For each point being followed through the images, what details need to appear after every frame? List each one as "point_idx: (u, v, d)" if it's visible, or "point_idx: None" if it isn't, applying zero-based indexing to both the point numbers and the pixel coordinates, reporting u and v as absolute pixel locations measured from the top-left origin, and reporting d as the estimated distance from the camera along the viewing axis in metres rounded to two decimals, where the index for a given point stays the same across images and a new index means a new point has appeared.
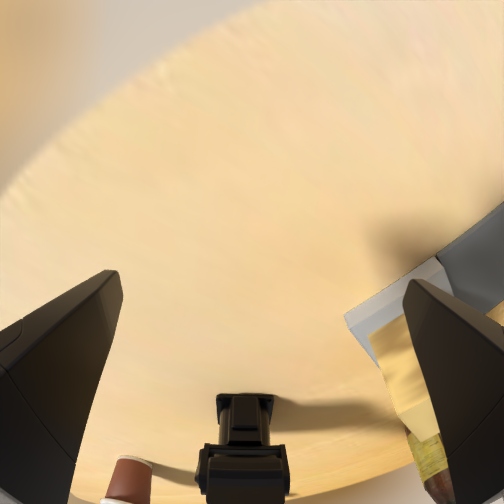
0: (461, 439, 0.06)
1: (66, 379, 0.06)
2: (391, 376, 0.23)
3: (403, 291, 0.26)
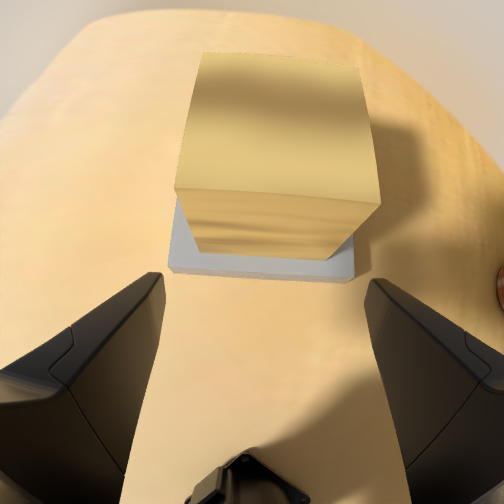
0: (419, 451, 0.06)
1: (120, 389, 0.06)
2: None
3: None
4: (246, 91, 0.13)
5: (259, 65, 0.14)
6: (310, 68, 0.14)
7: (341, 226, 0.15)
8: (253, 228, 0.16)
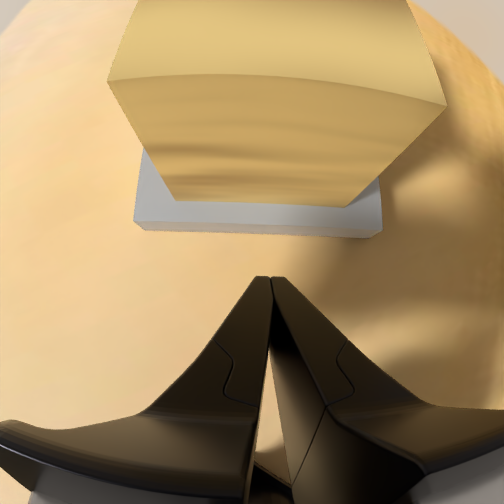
0: (296, 470, 0.06)
1: None
2: None
3: None
4: None
5: None
6: None
7: (378, 149, 0.09)
8: (244, 153, 0.10)
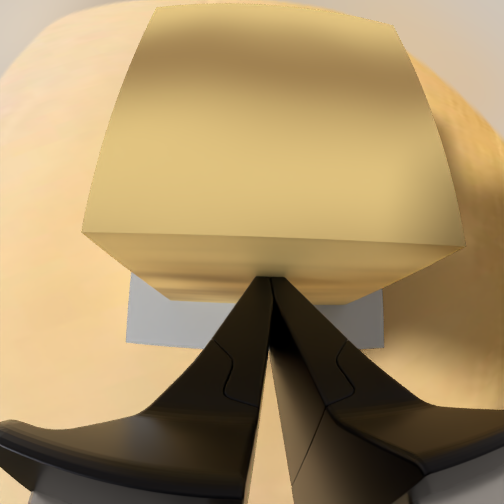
0: (296, 469, 0.06)
1: None
2: None
3: None
4: (220, 51, 0.07)
5: (243, 16, 0.08)
6: (323, 20, 0.08)
7: (385, 275, 0.09)
8: (241, 280, 0.10)
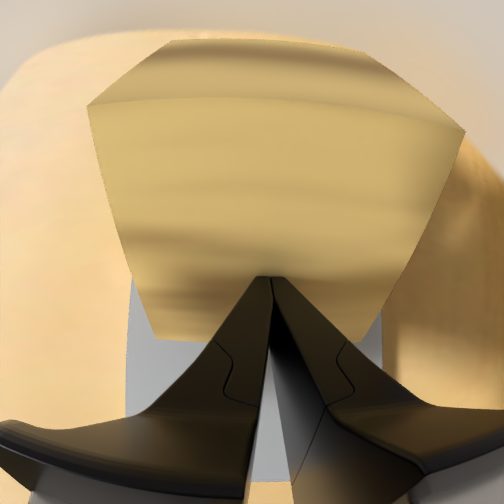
0: (296, 470, 0.06)
1: None
2: None
3: (128, 355, 0.14)
4: (224, 50, 0.09)
5: (241, 42, 0.10)
6: (306, 45, 0.11)
7: (401, 224, 0.08)
8: (240, 247, 0.08)
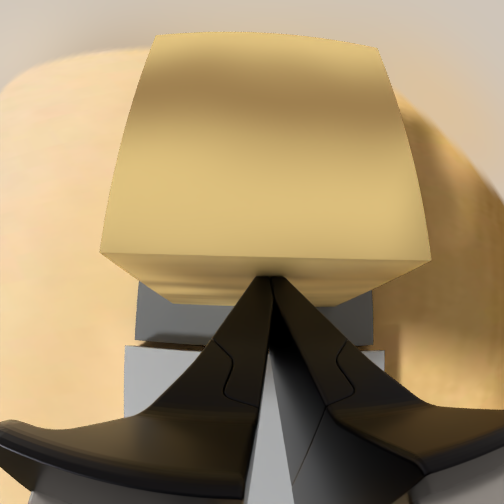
0: (296, 470, 0.06)
1: None
2: None
3: None
4: (215, 84, 0.08)
5: (235, 46, 0.09)
6: (310, 48, 0.09)
7: (363, 282, 0.10)
8: (236, 287, 0.11)
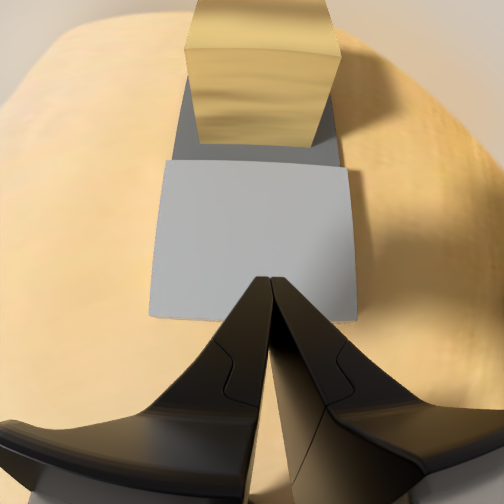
0: (296, 469, 0.06)
1: None
2: None
3: (158, 220, 0.19)
4: (236, 2, 0.15)
5: None
6: None
7: (316, 89, 0.17)
8: (245, 97, 0.18)
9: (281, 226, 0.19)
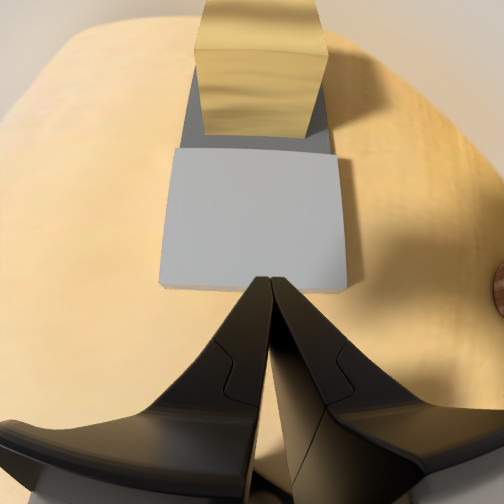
0: (296, 469, 0.06)
1: None
2: None
3: (168, 200, 0.22)
4: (238, 9, 0.18)
5: None
6: None
7: (308, 85, 0.19)
8: (246, 92, 0.20)
9: (278, 204, 0.22)
